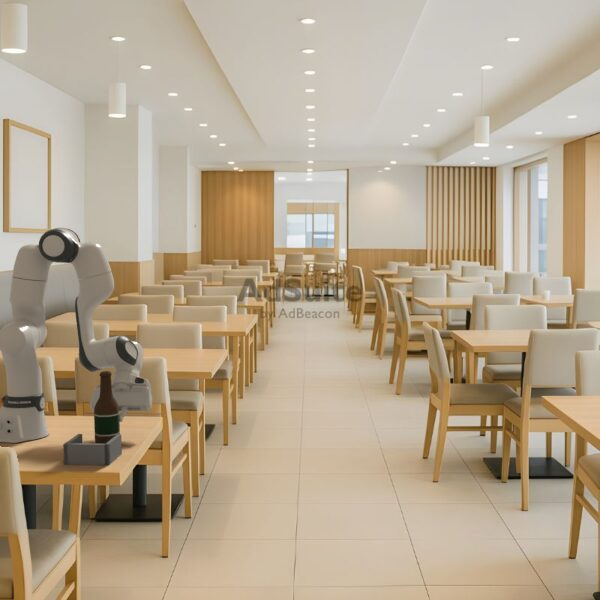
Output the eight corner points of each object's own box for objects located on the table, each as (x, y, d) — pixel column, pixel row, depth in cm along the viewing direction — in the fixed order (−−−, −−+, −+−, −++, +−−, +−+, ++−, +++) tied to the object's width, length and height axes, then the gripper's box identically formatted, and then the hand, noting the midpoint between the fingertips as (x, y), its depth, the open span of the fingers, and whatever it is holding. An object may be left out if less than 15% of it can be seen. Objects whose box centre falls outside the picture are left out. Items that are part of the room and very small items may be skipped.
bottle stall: (63, 464, 232) (63, 444, 231) (79, 453, 244) (78, 433, 243) (108, 465, 230) (108, 444, 230) (121, 453, 243) (121, 434, 242)
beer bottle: (97, 451, 245) (94, 374, 243) (93, 445, 252) (90, 370, 250) (122, 448, 248) (120, 372, 246) (117, 443, 255) (115, 369, 253)
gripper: (92, 380, 265) (83, 415, 257) (152, 379, 264) (145, 415, 255) (97, 391, 270) (88, 426, 261) (156, 390, 269) (149, 425, 260)
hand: (117, 420), depth 258 cm, fingers closed
